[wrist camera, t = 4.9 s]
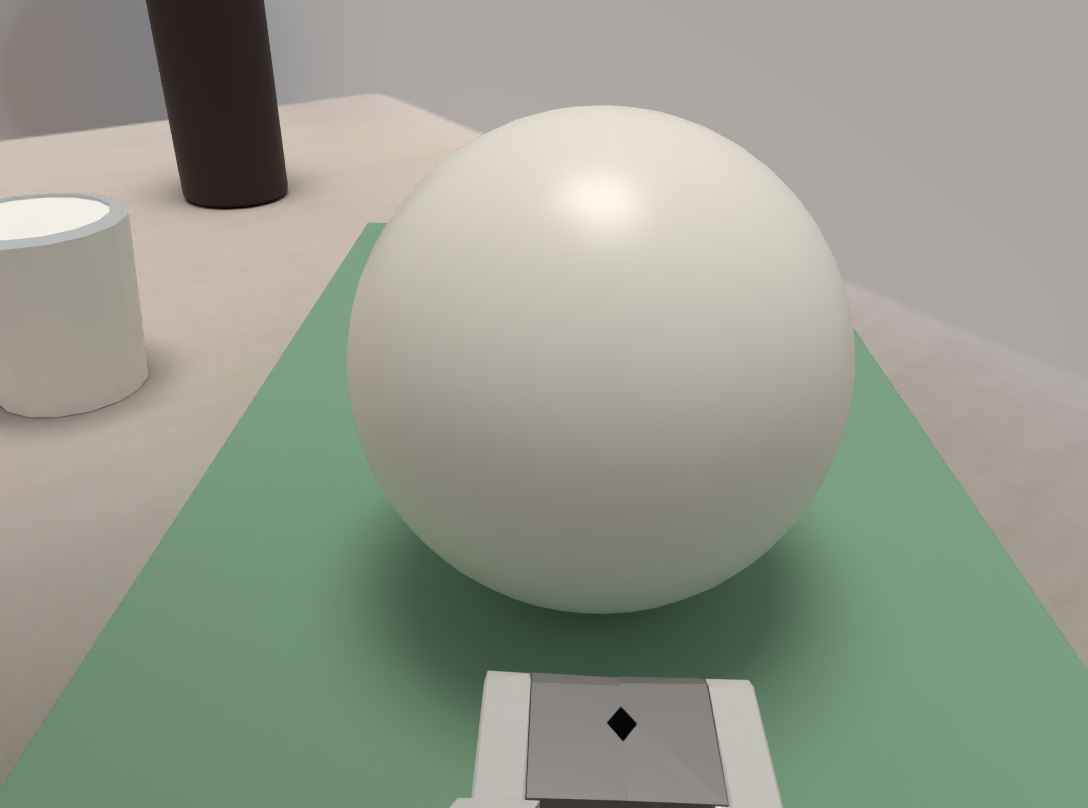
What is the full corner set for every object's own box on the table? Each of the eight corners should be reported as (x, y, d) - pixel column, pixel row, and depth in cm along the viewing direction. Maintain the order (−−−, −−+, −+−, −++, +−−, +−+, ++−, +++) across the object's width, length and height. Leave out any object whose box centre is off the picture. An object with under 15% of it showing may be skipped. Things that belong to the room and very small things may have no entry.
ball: (630, 834, 14) (695, 244, 9) (278, 561, 20) (200, 107, 15) (880, 546, 21) (996, 112, 16) (562, 404, 26) (573, 53, 21)
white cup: (153, 415, 33) (111, 239, 30) (-48, 435, 32) (-117, 252, 28) (174, 340, 39) (141, 185, 35) (5, 353, 37) (-46, 193, 34)
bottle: (280, 177, 62) (237, -151, 52) (296, 203, 57) (251, -157, 47) (180, 186, 60) (115, -156, 50) (187, 214, 55) (115, -163, 45)
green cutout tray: (1156, 1047, 15) (1253, 914, 13) (21, 1002, 15) (-52, 867, 13) (776, 311, 43) (788, 233, 41) (375, 300, 43) (368, 222, 41)
